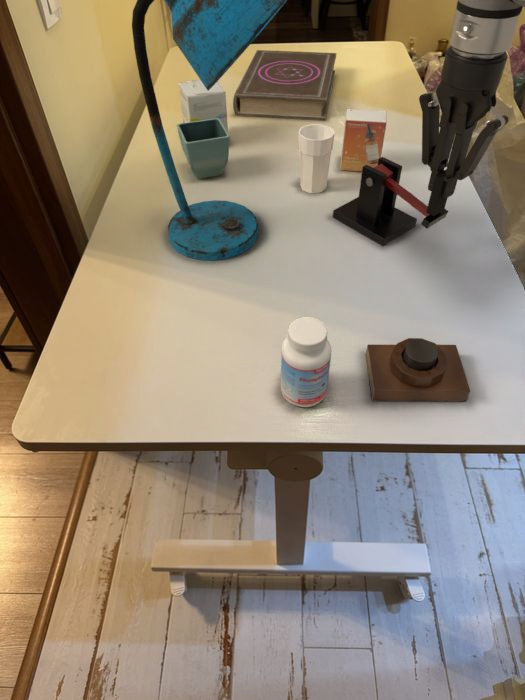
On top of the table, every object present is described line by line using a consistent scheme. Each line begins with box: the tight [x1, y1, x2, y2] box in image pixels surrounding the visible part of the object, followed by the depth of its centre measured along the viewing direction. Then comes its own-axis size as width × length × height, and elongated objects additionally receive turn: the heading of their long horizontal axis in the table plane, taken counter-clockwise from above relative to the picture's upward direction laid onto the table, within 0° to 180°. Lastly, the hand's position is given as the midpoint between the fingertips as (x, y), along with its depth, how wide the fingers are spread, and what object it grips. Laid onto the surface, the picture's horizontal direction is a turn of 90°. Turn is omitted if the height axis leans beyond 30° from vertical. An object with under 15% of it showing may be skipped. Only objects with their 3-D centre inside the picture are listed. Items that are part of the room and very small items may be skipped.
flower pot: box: [176, 118, 231, 180], centre depth 104 cm, size 9×9×9 cm
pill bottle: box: [280, 316, 332, 408], centre depth 64 cm, size 6×6×11 cm
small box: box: [339, 108, 388, 172], centre depth 104 cm, size 8×6×10 cm
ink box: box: [178, 79, 229, 133], centre depth 113 cm, size 9×9×12 cm
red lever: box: [374, 164, 449, 230], centre depth 86 cm, size 14×5×2 cm, turn 41°
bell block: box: [365, 337, 471, 402], centre depth 68 cm, size 12×8×4 cm, turn 89°
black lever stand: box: [332, 156, 418, 247], centre depth 90 cm, size 12×9×11 cm
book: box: [232, 49, 337, 121], centre depth 133 cm, size 30×22×5 cm
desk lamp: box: [131, 0, 288, 262], centre depth 76 cm, size 16×22×45 cm
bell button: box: [404, 338, 438, 371], centre depth 66 cm, size 4×4×2 cm
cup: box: [298, 123, 335, 195], centre depth 99 cm, size 7×7×11 cm
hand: (435, 211), depth 83 cm, fingers closed
